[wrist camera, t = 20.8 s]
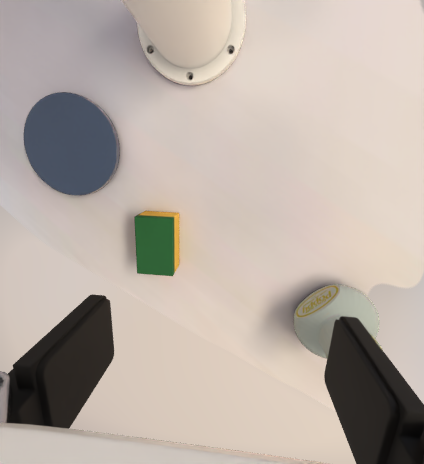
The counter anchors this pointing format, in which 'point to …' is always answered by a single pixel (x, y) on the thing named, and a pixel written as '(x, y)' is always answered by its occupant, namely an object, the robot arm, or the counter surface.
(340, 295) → the air freshener
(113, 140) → the plate
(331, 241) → the counter surface
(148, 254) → the sponge
